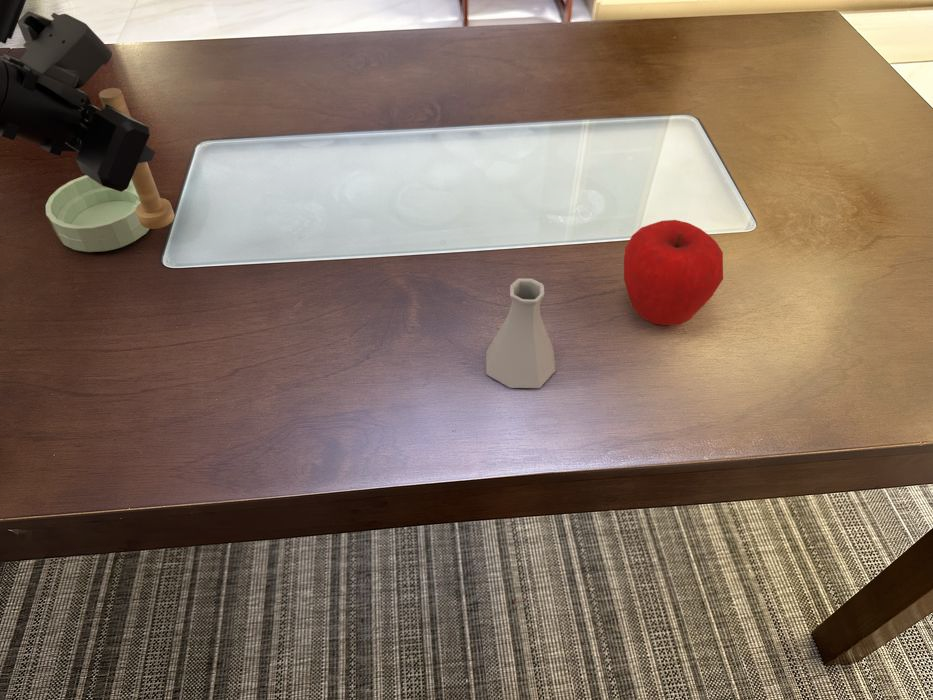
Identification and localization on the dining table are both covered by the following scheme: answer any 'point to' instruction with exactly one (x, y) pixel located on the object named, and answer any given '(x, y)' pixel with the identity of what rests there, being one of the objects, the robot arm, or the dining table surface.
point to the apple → (671, 271)
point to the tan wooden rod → (142, 177)
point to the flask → (522, 341)
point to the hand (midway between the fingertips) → (145, 152)
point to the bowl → (94, 215)
